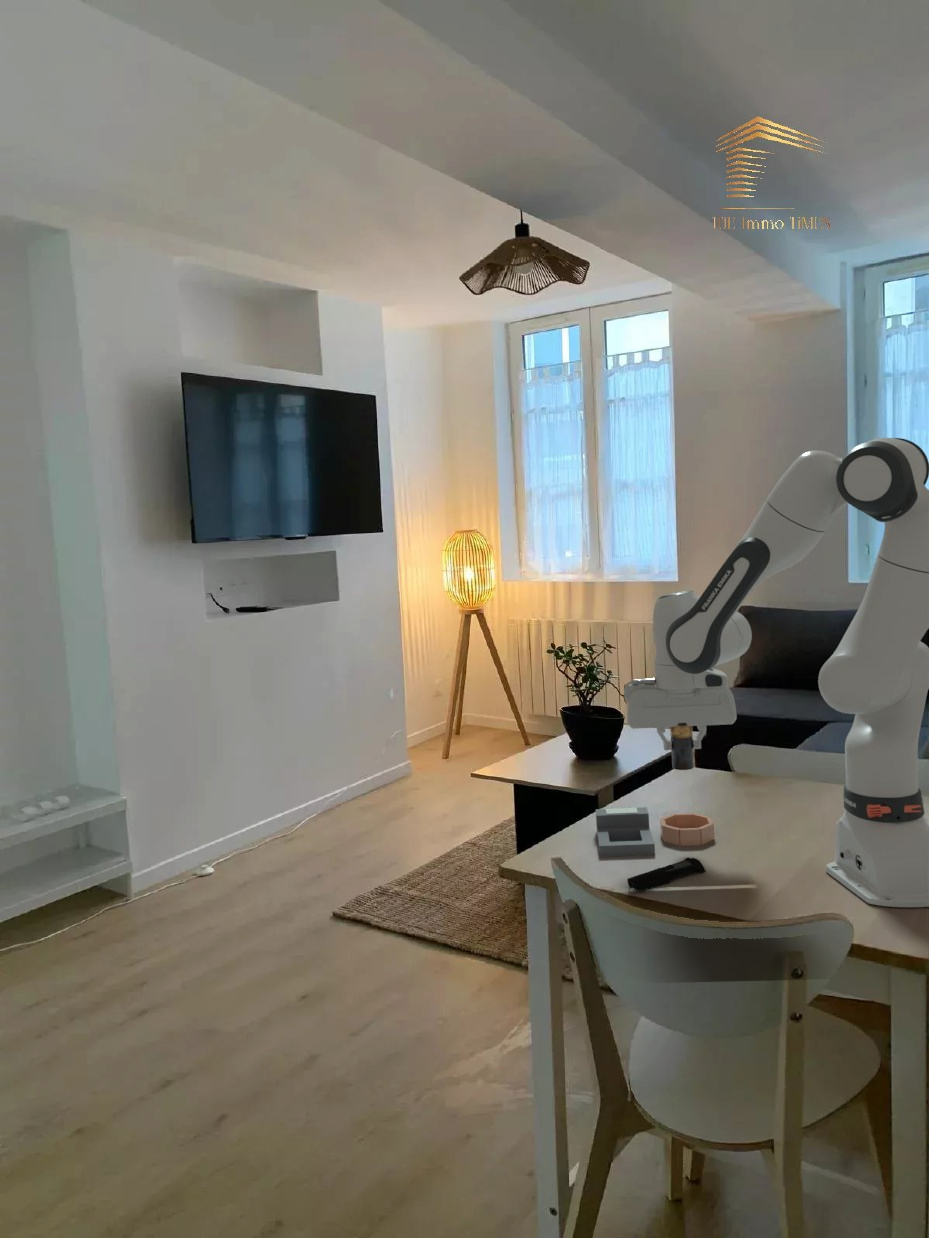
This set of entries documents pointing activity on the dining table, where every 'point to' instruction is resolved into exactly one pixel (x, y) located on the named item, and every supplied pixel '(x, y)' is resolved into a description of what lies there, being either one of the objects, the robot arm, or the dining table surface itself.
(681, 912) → the dining table surface
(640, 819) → the grey charging dock
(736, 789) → the dining table surface
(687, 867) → the electric trimmer
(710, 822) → the dish
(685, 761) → the cell
